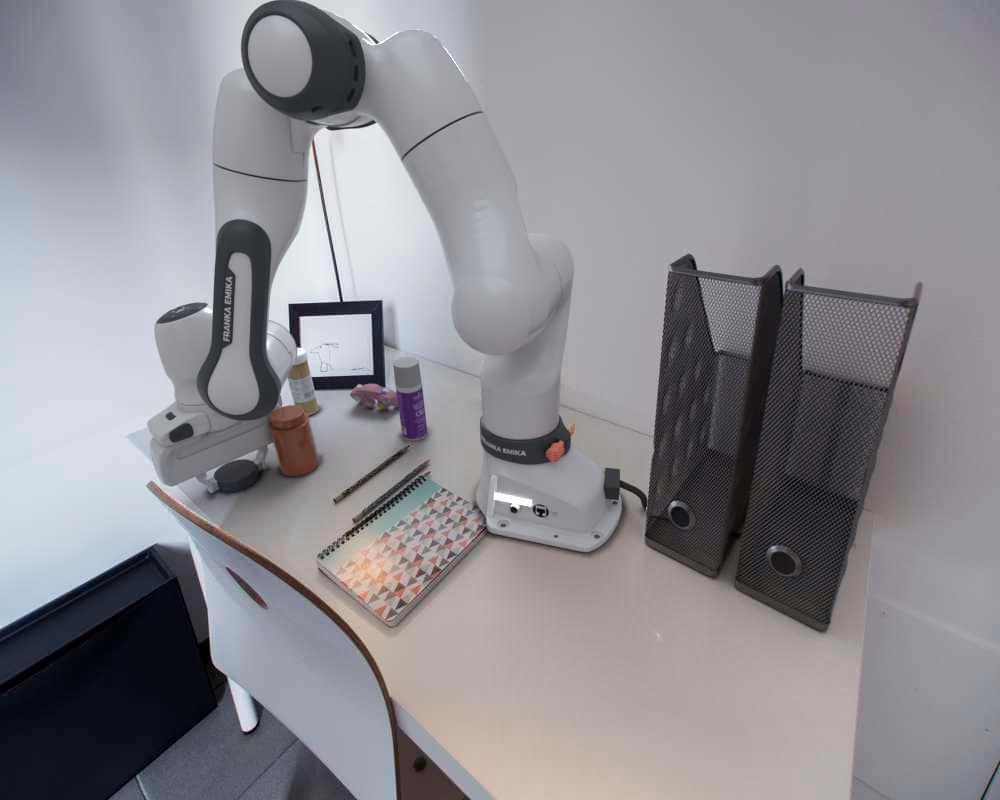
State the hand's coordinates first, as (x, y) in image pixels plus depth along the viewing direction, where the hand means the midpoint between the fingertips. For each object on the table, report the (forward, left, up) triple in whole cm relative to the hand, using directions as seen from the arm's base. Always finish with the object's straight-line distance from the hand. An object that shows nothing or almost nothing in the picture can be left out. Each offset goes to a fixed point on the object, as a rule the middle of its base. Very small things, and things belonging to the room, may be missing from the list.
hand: (237, 479), depth 88 cm
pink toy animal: (-5, -30, 0) cm, 30 cm away
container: (-18, -25, 0) cm, 31 cm away
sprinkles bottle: (+7, -22, 0) cm, 23 cm away
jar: (-6, -8, 0) cm, 10 cm away
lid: (0, 0, +1) cm, 1 cm away
